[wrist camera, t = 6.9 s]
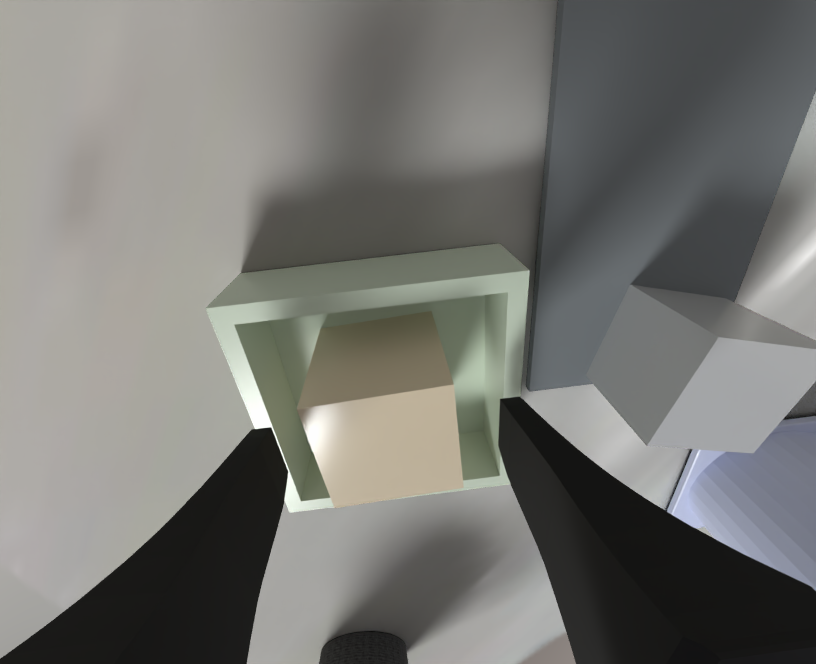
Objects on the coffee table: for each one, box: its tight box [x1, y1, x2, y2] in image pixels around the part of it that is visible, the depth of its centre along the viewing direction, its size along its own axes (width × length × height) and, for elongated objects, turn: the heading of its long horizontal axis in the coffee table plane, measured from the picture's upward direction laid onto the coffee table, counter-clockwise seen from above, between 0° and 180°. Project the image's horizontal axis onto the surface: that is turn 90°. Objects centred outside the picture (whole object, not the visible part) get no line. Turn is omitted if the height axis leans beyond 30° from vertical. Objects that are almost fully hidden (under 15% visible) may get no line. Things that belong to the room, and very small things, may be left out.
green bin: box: [206, 243, 530, 513], centre depth 14 cm, size 9×9×3 cm
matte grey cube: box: [586, 285, 816, 453], centre depth 13 cm, size 4×4×4 cm
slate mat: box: [526, 0, 816, 392], centre depth 12 cm, size 8×14×1 cm, turn 5°
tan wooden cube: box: [297, 311, 464, 508], centre depth 12 cm, size 4×4×4 cm
